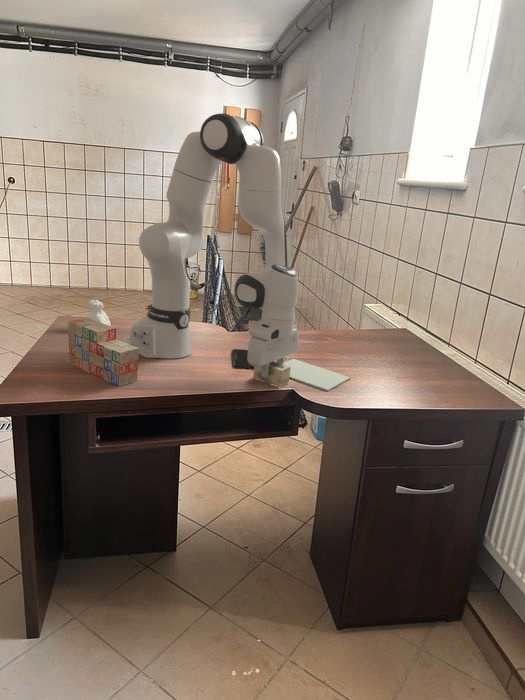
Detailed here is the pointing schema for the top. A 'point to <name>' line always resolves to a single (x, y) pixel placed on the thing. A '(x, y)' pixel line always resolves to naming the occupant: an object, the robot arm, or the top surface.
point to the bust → (98, 312)
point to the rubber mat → (315, 375)
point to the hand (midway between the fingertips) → (271, 373)
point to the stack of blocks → (102, 352)
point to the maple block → (274, 374)
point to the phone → (241, 359)
